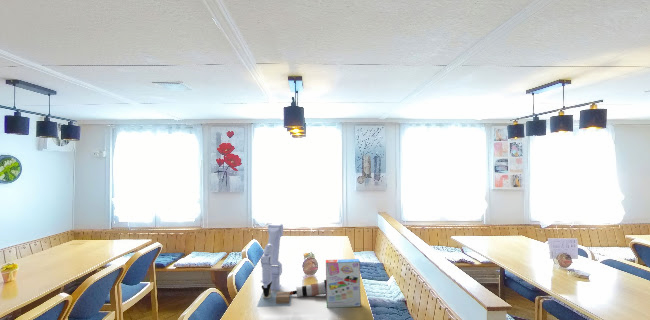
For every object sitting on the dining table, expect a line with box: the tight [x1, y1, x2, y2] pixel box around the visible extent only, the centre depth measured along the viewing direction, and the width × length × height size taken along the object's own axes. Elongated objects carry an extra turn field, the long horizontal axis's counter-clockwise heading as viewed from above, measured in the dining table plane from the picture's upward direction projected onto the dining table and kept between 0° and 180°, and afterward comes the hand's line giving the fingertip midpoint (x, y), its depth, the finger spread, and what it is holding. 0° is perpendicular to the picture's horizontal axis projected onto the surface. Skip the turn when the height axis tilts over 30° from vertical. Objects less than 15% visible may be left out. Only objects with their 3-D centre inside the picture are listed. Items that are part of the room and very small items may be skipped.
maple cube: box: [262, 288, 272, 298], centre depth 211 cm, size 4×4×4 cm
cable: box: [289, 279, 327, 298], centre depth 212 cm, size 10×34×10 cm, turn 94°
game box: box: [325, 258, 362, 309], centre depth 198 cm, size 21×6×27 cm, turn 92°
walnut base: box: [276, 291, 290, 304], centre depth 204 cm, size 8×8×4 cm
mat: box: [256, 291, 293, 308], centre depth 207 cm, size 22×20×1 cm
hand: (267, 295), depth 211 cm, fingers open, 5 cm apart
